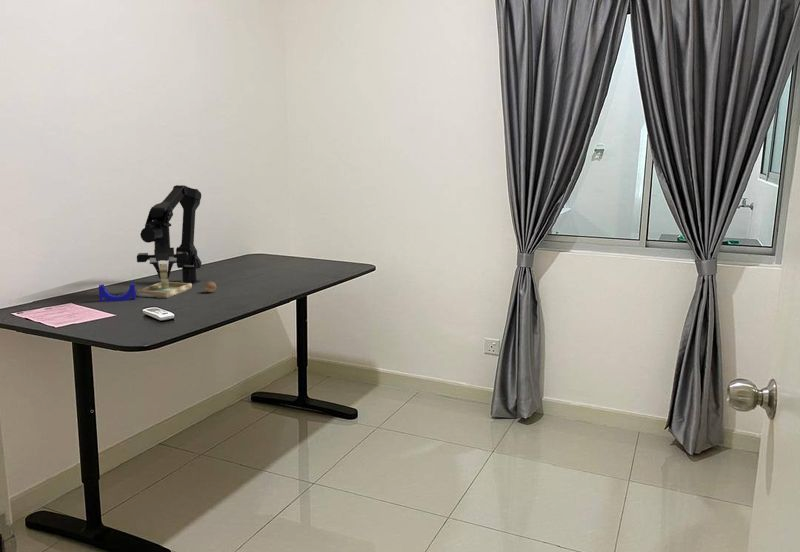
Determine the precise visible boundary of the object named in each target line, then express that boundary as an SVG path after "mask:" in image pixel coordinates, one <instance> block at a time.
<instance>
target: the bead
mask: <svg viewBox="0 0 800 552" xmlns="http://www.w3.org/2000/svg"><path fill="white" fill-rule="evenodd" d="M204 289H205V292H207V293H209V294H210V293H211V294H212V293H214V292H215V291H216V289H217V285H216V282H214V281H207V282H206V283H205V284H204Z"/></svg>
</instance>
